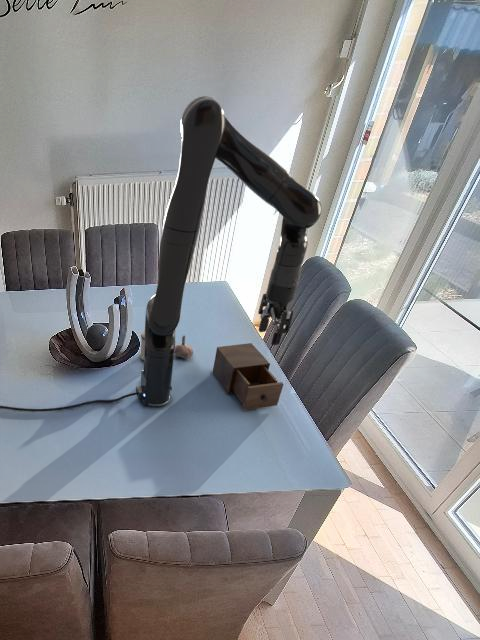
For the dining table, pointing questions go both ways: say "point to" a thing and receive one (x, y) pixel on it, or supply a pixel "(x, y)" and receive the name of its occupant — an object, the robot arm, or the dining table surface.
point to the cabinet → (236, 362)
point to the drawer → (256, 387)
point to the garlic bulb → (183, 350)
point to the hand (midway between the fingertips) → (268, 337)
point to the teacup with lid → (142, 344)
